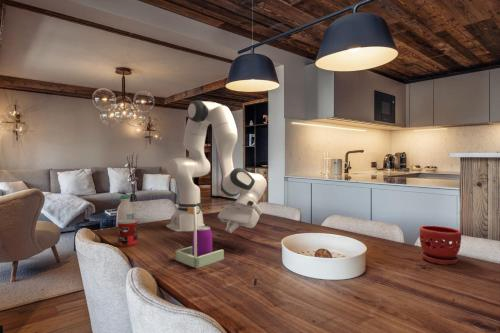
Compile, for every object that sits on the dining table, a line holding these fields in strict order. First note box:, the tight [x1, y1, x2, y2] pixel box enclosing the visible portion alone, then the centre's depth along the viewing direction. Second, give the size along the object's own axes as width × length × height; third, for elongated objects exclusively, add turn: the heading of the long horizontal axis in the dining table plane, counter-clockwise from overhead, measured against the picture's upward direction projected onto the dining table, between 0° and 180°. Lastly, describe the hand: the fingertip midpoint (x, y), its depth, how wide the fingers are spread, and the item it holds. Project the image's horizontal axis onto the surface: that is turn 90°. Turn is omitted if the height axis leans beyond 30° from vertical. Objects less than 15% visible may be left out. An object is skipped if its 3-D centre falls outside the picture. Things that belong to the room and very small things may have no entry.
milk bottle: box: [117, 194, 135, 222], centre depth 156 cm, size 8×8×20 cm
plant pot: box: [419, 225, 462, 265], centre depth 113 cm, size 13×13×12 cm
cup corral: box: [174, 207, 225, 269], centre depth 117 cm, size 13×13×22 cm
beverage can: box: [191, 225, 213, 257], centre depth 118 cm, size 8×8×12 cm
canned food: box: [117, 218, 138, 248], centre depth 137 cm, size 8×8×11 cm
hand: (228, 231), depth 128 cm, fingers closed
